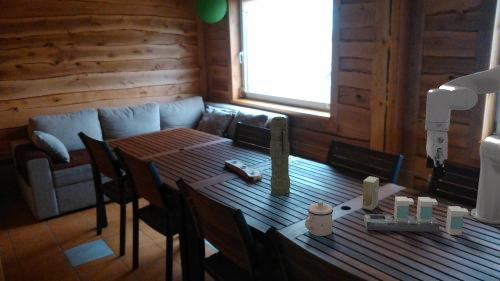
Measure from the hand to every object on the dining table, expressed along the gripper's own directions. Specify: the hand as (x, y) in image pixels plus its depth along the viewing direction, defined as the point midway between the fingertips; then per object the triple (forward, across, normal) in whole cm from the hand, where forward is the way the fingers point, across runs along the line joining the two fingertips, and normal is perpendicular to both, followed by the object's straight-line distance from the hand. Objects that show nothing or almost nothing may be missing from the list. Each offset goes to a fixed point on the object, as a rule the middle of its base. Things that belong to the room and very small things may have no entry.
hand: (434, 172), depth 142 cm
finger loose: (+21, -3, -7) cm, 23 cm away
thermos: (+20, +28, +58) cm, 68 cm away
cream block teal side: (+19, 0, +3) cm, 19 cm away
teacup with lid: (+20, -9, +41) cm, 46 cm away
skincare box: (+21, +16, +20) cm, 33 cm away
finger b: (+19, -1, +11) cm, 22 cm away
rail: (+21, -1, +11) cm, 24 cm away
